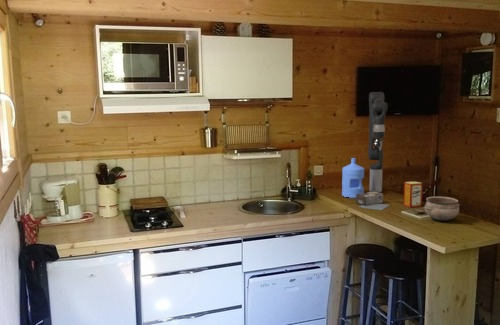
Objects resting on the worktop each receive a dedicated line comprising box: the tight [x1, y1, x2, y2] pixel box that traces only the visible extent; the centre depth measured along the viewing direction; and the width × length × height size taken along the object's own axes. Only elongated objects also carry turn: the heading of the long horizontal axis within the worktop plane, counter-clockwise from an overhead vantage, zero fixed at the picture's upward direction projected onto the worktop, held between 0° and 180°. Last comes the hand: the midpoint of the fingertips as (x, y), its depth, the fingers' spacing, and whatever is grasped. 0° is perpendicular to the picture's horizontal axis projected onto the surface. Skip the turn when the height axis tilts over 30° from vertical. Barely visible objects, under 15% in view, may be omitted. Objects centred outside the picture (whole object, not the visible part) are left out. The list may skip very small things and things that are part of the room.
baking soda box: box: [403, 181, 424, 209], centre depth 310 cm, size 10×6×16 cm
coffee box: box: [355, 191, 384, 206], centre depth 319 cm, size 9×6×16 cm
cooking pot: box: [423, 196, 461, 222], centre depth 276 cm, size 25×19×12 cm
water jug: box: [341, 157, 365, 199], centre depth 340 cm, size 16×16×28 cm
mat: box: [358, 203, 391, 211], centre depth 311 cm, size 16×16×1 cm
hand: (378, 155), depth 328 cm, fingers closed
